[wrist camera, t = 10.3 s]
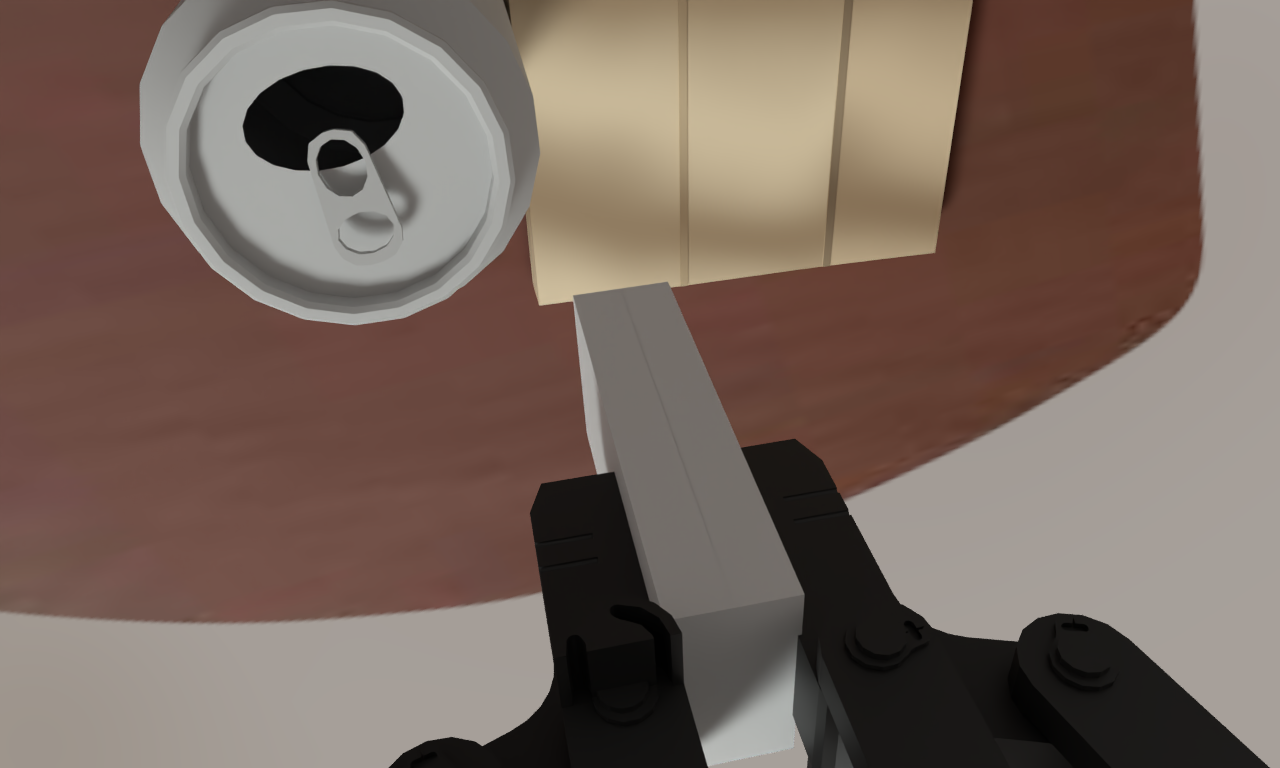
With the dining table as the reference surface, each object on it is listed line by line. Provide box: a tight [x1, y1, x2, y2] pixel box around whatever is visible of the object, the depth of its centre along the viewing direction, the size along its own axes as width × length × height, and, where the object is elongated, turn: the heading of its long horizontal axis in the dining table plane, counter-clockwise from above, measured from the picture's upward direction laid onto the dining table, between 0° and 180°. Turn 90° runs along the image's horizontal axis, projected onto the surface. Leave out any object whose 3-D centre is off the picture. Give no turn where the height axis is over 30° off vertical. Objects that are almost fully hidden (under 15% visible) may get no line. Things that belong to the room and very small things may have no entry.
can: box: [140, 0, 540, 325], centre depth 23 cm, size 8×8×12 cm
